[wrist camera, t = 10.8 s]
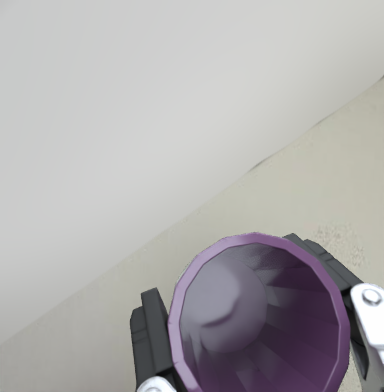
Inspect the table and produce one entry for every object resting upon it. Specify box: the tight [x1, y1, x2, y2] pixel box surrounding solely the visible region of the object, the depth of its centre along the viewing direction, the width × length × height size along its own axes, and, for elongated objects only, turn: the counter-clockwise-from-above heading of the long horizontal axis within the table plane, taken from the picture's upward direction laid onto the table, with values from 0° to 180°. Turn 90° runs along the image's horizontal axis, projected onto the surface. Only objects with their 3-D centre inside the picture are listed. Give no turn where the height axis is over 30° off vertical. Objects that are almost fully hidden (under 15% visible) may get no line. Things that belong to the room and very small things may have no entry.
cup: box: [167, 232, 351, 392], centre depth 13 cm, size 6×6×8 cm
